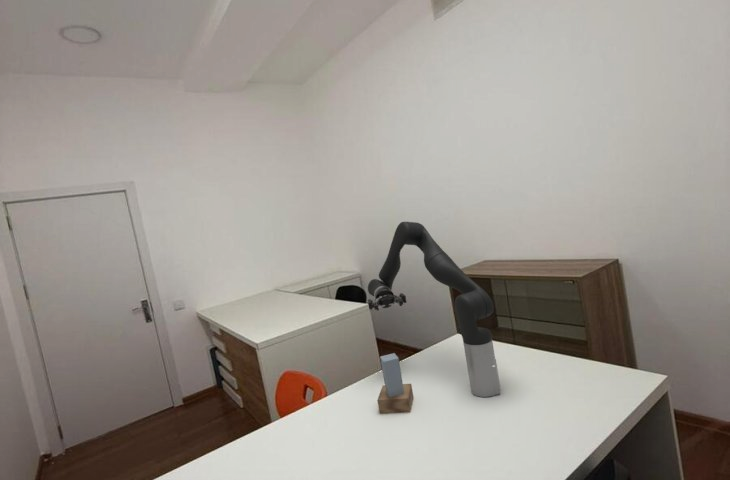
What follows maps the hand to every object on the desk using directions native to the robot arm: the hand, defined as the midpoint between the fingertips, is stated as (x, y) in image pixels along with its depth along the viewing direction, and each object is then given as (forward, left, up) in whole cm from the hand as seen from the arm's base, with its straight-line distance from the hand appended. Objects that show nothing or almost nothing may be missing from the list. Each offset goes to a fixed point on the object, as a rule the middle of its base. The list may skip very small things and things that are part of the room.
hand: (389, 305), depth 141 cm
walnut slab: (-1, +14, -30) cm, 33 cm away
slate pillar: (-2, +14, -25) cm, 29 cm away
